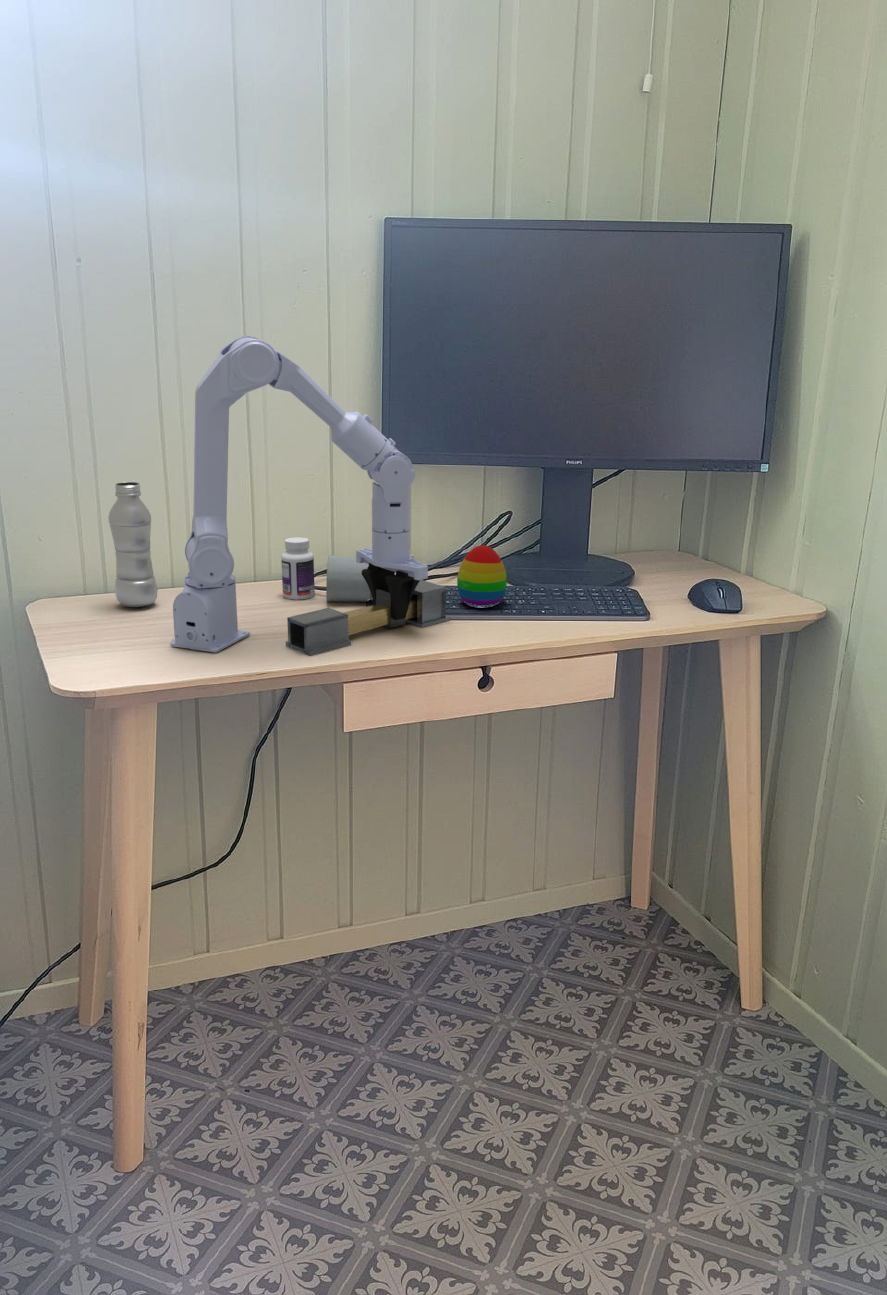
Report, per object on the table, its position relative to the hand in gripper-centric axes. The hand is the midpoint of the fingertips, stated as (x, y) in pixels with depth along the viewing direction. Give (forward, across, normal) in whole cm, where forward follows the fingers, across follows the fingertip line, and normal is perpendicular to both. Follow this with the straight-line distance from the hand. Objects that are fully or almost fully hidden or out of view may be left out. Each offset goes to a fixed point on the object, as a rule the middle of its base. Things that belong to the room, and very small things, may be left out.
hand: (391, 615), depth 168 cm
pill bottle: (+2, +23, +1) cm, 23 cm away
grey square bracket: (+2, 0, -6) cm, 6 cm away
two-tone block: (+1, 0, +2) cm, 2 cm away
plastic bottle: (+2, +36, +24) cm, 43 cm away
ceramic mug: (+2, +17, -5) cm, 17 cm away
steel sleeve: (+2, 0, +14) cm, 14 cm away
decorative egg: (+2, 0, -19) cm, 19 cm away
